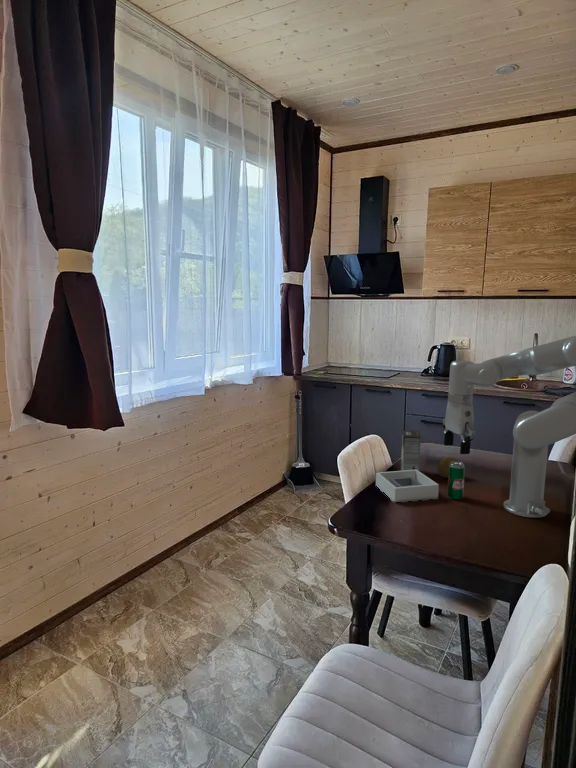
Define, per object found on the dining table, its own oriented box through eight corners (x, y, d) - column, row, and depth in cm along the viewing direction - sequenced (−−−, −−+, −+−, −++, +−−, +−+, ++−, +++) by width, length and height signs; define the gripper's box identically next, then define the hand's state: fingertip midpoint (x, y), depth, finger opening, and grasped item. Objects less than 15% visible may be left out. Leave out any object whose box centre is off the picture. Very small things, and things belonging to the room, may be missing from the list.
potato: (459, 475, 185) (460, 455, 183) (455, 482, 178) (457, 461, 177) (440, 473, 188) (441, 453, 187) (436, 479, 181) (437, 458, 180)
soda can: (452, 501, 161) (454, 466, 159) (444, 495, 166) (445, 461, 164) (466, 499, 162) (468, 464, 160) (457, 494, 167) (459, 460, 165)
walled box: (438, 498, 163) (438, 484, 162) (394, 503, 159) (395, 488, 158) (415, 482, 178) (416, 469, 177) (375, 486, 174) (376, 472, 173)
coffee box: (400, 469, 192) (401, 429, 189) (417, 470, 191) (418, 430, 188) (401, 477, 183) (403, 435, 180) (419, 478, 182) (421, 436, 179)
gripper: (486, 403, 151) (482, 456, 154) (455, 393, 168) (452, 441, 171) (465, 404, 149) (460, 458, 152) (435, 394, 166) (432, 442, 169)
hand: (456, 449), depth 161 cm, fingers open, 9 cm apart
